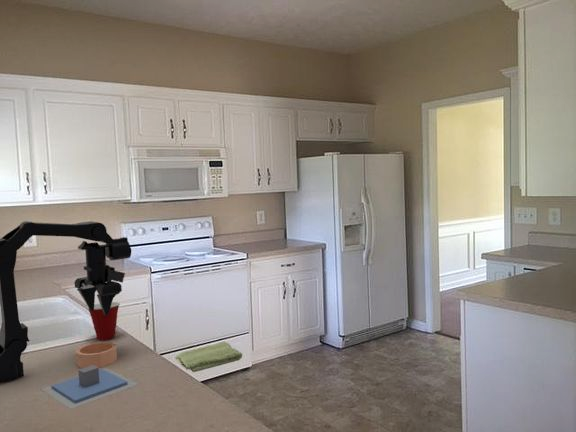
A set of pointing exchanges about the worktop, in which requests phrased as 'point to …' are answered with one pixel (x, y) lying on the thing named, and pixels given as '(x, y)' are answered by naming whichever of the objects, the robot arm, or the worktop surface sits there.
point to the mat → (73, 405)
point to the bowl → (96, 354)
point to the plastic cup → (104, 321)
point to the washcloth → (208, 356)
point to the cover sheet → (90, 390)
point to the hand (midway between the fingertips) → (99, 312)
